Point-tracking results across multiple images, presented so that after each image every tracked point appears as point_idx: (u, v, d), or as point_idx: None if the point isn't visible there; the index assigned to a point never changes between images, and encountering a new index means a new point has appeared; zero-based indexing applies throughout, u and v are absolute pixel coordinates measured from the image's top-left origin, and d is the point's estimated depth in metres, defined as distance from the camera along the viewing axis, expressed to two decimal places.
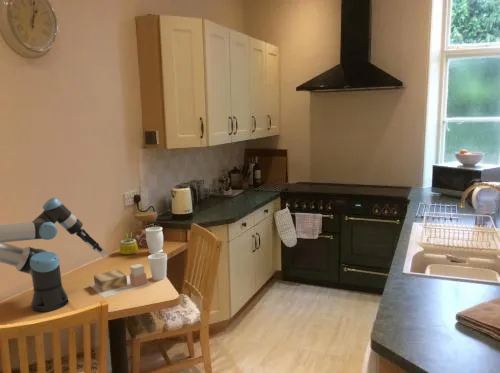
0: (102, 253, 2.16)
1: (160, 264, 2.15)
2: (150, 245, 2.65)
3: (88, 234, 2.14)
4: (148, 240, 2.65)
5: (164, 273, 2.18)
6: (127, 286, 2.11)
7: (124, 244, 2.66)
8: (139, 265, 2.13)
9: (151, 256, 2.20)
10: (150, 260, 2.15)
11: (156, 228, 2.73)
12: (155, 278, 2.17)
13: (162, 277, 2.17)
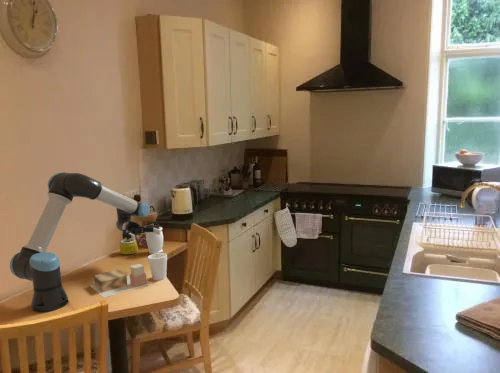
0: None
1: (160, 264, 2.15)
2: (150, 245, 2.65)
3: (144, 232, 2.38)
4: (148, 240, 2.65)
5: (164, 273, 2.18)
6: (127, 286, 2.11)
7: (124, 244, 2.66)
8: (139, 265, 2.13)
9: (151, 256, 2.20)
10: (150, 260, 2.15)
11: None
12: (155, 278, 2.17)
13: (162, 277, 2.17)
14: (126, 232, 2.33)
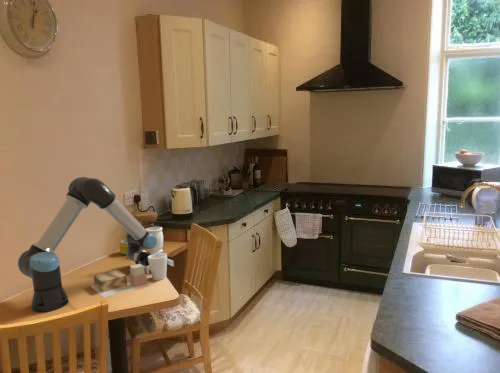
0: None
1: (160, 264, 2.15)
2: None
3: None
4: None
5: (164, 273, 2.18)
6: (127, 286, 2.11)
7: (124, 244, 2.66)
8: (139, 265, 2.13)
9: (151, 256, 2.20)
10: (150, 260, 2.15)
11: (156, 228, 2.73)
12: (155, 278, 2.17)
13: (162, 277, 2.17)
14: None
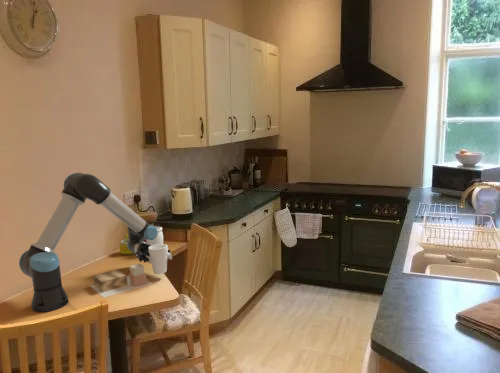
0: None
1: (161, 255, 2.14)
2: None
3: None
4: (148, 240, 2.65)
5: (165, 264, 2.17)
6: (127, 286, 2.11)
7: (124, 244, 2.66)
8: (139, 265, 2.13)
9: (151, 247, 2.19)
10: (151, 251, 2.13)
11: None
12: (156, 269, 2.15)
13: (163, 268, 2.16)
14: None
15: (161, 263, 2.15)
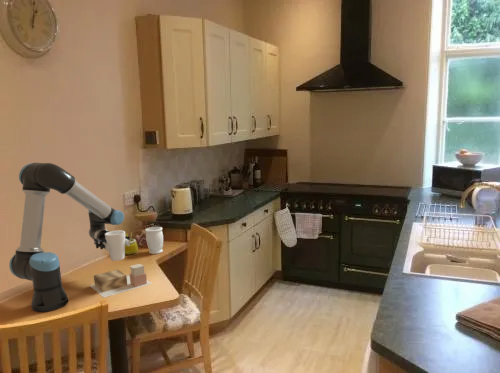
0: None
1: (117, 241, 2.07)
2: (150, 245, 2.65)
3: None
4: (148, 240, 2.65)
5: (122, 250, 2.10)
6: (127, 286, 2.11)
7: None
8: (139, 265, 2.13)
9: (109, 233, 2.13)
10: (107, 237, 2.07)
11: (156, 228, 2.73)
12: (112, 256, 2.09)
13: (120, 255, 2.10)
14: (98, 241, 2.18)
15: (118, 249, 2.08)
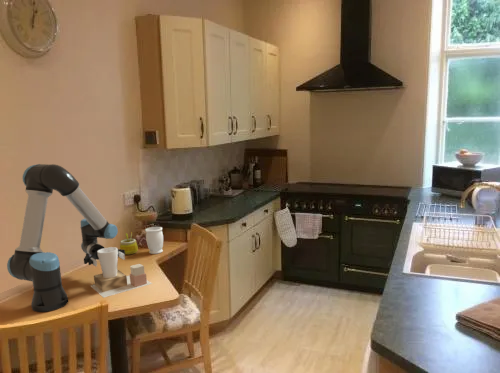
0: None
1: (110, 258, 2.07)
2: (150, 245, 2.65)
3: None
4: (148, 240, 2.65)
5: (115, 268, 2.10)
6: (127, 286, 2.11)
7: (124, 244, 2.66)
8: (139, 265, 2.13)
9: (101, 250, 2.12)
10: (99, 254, 2.07)
11: (156, 228, 2.73)
12: (105, 273, 2.09)
13: (112, 272, 2.09)
14: (89, 256, 2.17)
15: (110, 267, 2.08)
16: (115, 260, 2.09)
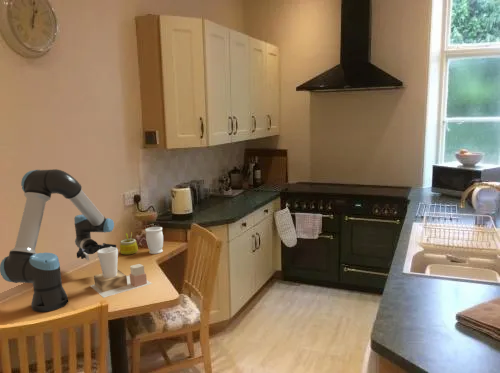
0: None
1: (110, 258, 2.07)
2: (150, 245, 2.65)
3: None
4: (148, 240, 2.65)
5: (115, 268, 2.10)
6: (127, 286, 2.11)
7: (124, 244, 2.66)
8: (139, 265, 2.13)
9: (101, 250, 2.12)
10: (99, 254, 2.07)
11: (156, 228, 2.73)
12: (105, 273, 2.09)
13: (112, 272, 2.09)
14: (82, 251, 2.27)
15: (110, 267, 2.08)
16: (115, 260, 2.09)
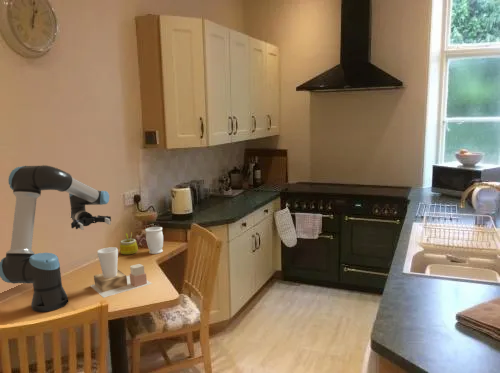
0: None
1: (110, 258, 2.07)
2: (150, 245, 2.65)
3: (96, 222, 2.32)
4: (148, 240, 2.65)
5: (115, 268, 2.10)
6: (127, 286, 2.11)
7: (124, 244, 2.66)
8: (139, 265, 2.13)
9: (101, 250, 2.12)
10: (99, 254, 2.07)
11: (156, 228, 2.73)
12: (105, 273, 2.09)
13: (112, 272, 2.09)
14: (76, 222, 2.27)
15: (110, 267, 2.08)
16: (115, 260, 2.09)
